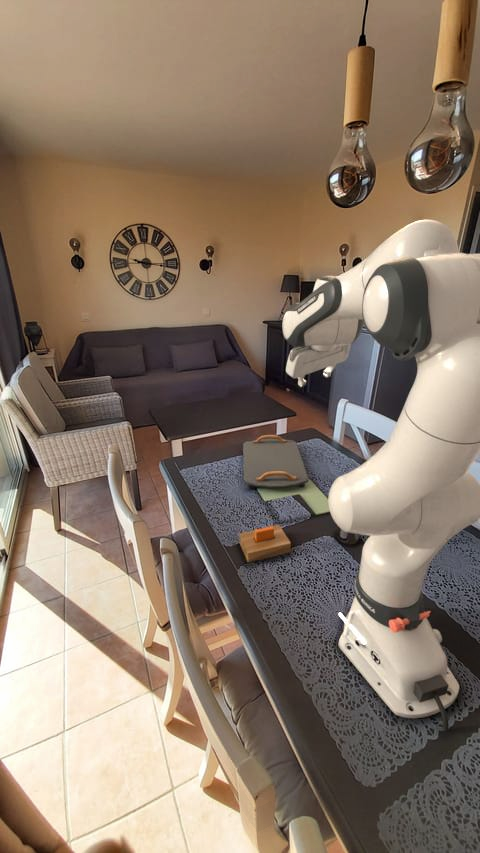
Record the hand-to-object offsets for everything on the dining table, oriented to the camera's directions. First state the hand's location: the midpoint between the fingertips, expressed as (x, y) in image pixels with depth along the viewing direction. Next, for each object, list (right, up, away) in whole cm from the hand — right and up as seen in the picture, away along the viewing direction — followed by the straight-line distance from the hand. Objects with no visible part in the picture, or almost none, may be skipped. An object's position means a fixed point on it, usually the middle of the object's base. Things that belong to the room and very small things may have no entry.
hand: (314, 380), depth 106 cm
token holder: (-15, -47, -7) cm, 50 cm away
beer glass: (+9, -45, -3) cm, 46 cm away
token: (-15, -46, -7) cm, 49 cm away
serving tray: (-9, -29, +35) cm, 46 cm away
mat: (-3, -38, +15) cm, 41 cm away
